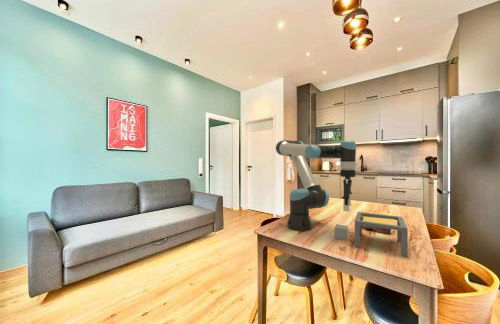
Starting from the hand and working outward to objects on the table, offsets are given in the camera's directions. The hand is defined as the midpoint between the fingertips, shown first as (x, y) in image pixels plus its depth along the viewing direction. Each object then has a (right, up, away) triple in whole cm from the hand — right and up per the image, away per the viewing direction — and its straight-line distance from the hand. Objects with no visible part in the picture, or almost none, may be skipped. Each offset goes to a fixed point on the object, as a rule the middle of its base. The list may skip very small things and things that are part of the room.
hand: (347, 208), depth 107 cm
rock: (+22, -16, +11) cm, 29 cm away
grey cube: (-3, -16, -1) cm, 16 cm away
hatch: (+11, -5, -9) cm, 15 cm away
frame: (+11, -16, -9) cm, 21 cm away
